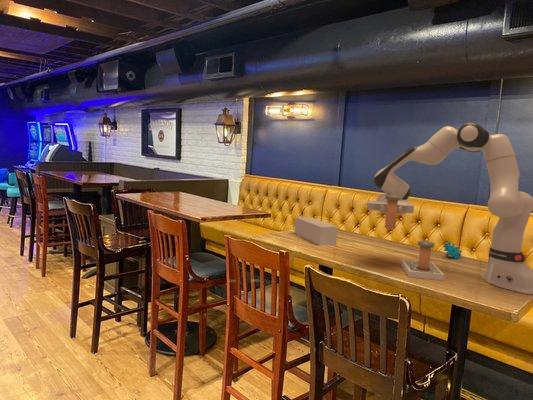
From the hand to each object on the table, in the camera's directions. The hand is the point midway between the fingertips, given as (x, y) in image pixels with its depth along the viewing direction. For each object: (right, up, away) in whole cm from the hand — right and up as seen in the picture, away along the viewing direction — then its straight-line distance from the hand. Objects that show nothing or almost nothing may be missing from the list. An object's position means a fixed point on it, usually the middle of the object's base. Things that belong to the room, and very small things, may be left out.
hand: (392, 209), depth 175 cm
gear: (+43, -27, +37) cm, 63 cm away
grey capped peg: (+13, -28, -2) cm, 31 cm away
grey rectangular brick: (-27, -20, +63) cm, 71 cm away
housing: (+13, -29, +2) cm, 32 cm away
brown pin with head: (0, -8, +2) cm, 8 cm away
